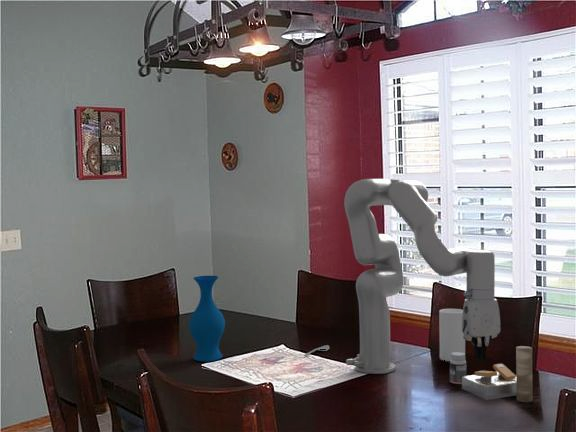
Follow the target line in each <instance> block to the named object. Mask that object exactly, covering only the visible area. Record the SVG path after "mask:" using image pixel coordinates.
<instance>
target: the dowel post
mask: <svg viewBox="0 0 576 432" xmlns="http://www.w3.org/2000/svg"><path fill="white" fill-rule="evenodd" d="M515 353H516V355H515V360H516V362H515V363H516V364H515V365H516V366H515V367H516V368H515V369H516V374H515V375H516V382H517V395H516V401H517V402H522V403H531V402H533V399H534V398H533V397H534V396H533V348H532V347H531V346H526V345H525V346H524V345H520V346H516V347H515Z"/></svg>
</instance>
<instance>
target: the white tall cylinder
mask: <svg viewBox="0 0 576 432" xmlns="http://www.w3.org/2000/svg"><path fill="white" fill-rule="evenodd" d="M438 311H439V314H438V321H439V323H438V325H439V327H438V329H439V330H438V331H439V360H441V361H444V360H445V361H444V362H449V361H450V360H451V353H453V352H461V353H465V354H466V340H464V339H463V336H464V333H463V332H462V314H463V309H461V308H442V309H440V310H438ZM464 360H466V358H465V359H464Z"/></svg>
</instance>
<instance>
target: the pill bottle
mask: <svg viewBox="0 0 576 432" xmlns="http://www.w3.org/2000/svg"><path fill="white" fill-rule="evenodd" d="M464 359H465V360H464ZM462 376H467V361H466V352H465V353H461V352H453V353H451V360H450V362H449V382H450V383H452V384H456V385H462Z"/></svg>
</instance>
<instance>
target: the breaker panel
mask: <svg viewBox="0 0 576 432" xmlns="http://www.w3.org/2000/svg"><path fill="white" fill-rule="evenodd" d="M495 372H497V371H496V370H495ZM461 390H464V391H466V392H468V393H470V394H473V395H475V396H477V397H479V398H482V399H484V400H486V401H491V400H497V399H502V398H508V397H514V396H517V382H516V377H515V379H510V380H506V379H505V378H504V377H502V376H501V375H500V374H499V373H498V372H497V376H491V377H484V376H475V374H472V375H471V374H470V375H466V376H462V384H461Z"/></svg>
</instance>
